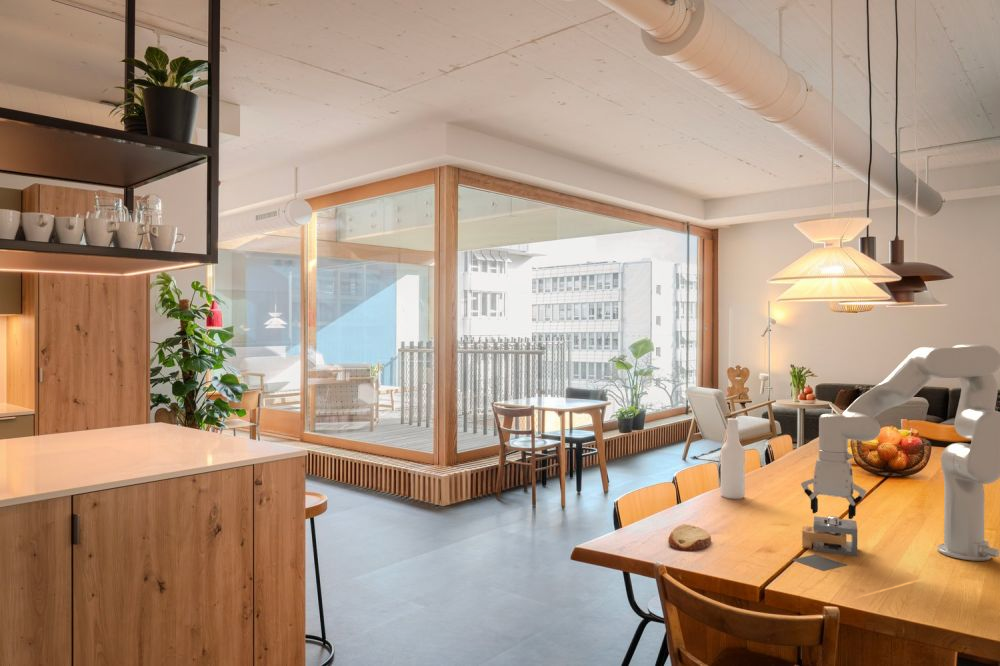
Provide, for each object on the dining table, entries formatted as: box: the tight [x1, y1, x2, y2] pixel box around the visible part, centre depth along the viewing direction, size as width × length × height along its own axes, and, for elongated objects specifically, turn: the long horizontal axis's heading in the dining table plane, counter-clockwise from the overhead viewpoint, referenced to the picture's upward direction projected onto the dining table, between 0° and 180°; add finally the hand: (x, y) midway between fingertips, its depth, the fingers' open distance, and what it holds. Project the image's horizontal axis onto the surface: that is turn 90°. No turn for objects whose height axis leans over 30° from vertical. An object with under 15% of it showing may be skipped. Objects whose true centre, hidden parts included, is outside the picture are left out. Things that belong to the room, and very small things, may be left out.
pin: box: [826, 515, 840, 548], centre depth 199 cm, size 3×3×10 cm
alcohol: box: [720, 417, 746, 500], centre depth 263 cm, size 9×9×30 cm
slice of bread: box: [668, 523, 712, 552], centre depth 208 cm, size 18×18×4 cm
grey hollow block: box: [801, 515, 858, 558], centre depth 199 cm, size 14×10×8 cm
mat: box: [791, 554, 847, 572], centre depth 187 cm, size 10×10×1 cm
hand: (832, 515), depth 199 cm, fingers open, 9 cm apart
